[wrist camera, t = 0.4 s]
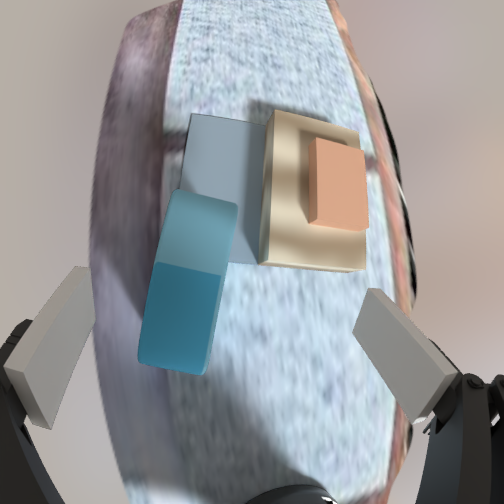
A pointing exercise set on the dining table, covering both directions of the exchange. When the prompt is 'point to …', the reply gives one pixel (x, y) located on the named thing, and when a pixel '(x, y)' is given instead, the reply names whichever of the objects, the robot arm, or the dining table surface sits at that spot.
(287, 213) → the plate
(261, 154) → the mat
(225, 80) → the dining table surface
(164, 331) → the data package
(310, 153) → the salmon orange flat block
